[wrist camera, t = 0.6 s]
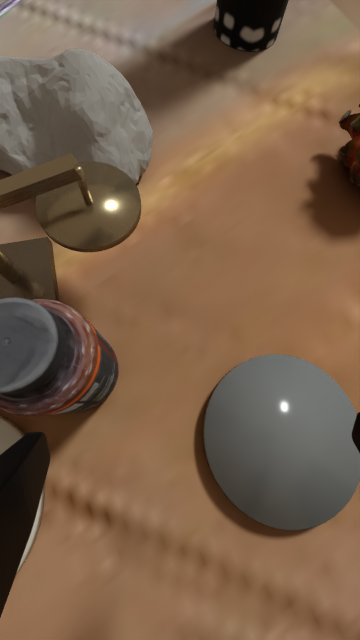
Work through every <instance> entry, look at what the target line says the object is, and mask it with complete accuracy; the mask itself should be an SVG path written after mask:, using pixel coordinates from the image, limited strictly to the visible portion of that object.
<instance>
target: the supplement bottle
mask: <svg viewBox="0 0 360 640" xmlns="http://www.w3.org/2000/svg"><path fill="white" fill-rule="evenodd" d="M117 378H118V361H117V358H116V355H115V353H114V351H113V349H112V348H111V346H110V345H109V344H108V343H107V342H106V340H105V339H104V338H103V337H102V336H101V335H100V334H99V332H98V331H97V330H96V329H95V328H94V327H93V326H92V324H91V323H90V322H89V321H88V320H87V319H86V318H85V317H84V316H83V315H82V314H81V313H80V312H78V311H77V310H75V309H74V308H72V307H71V306H69V305H66V304H64V303H62V302H58V301H54V300H47V299H36V300H29V299H24V298H16V297H14V298H4V299H0V409H1V410H3V411H5V412H8V413H11V414H15V415H22V416H37V415H50V414H61V413H72V412H81V411H85V410H89V409H91V408H94V407H95V406H98V405H99V404H100V403H102V402H103V401H104V400H105V399H106V398H107V397H108V396H109V395H110V393H111V392H112V390H113V389H114V386H115V385H116V381H117Z"/></svg>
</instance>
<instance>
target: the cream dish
mask: <svg viewBox="0 0 360 640" xmlns="http://www.w3.org/2000/svg"><path fill="white" fill-rule="evenodd" d="M24 435H25V434H24V433H23V432H22V431H21V430H20V429H19V428H18V427H17V426H16V425H15V424H13V423H12V422H11V421H9V420H7V419H6V418H4V417H2V416H0V454H2V453H3V452H4V451H5V450H7V449H8V448H9V447H10V446H12V445H13V444H14V443H15V442H17V441H18V440H19V439H20V438H22V437H23V436H24ZM43 507H44V487H43V491H42V495H41V499H40V503H39V506H38V510H37V514H36V518H35V522H34V525H33V528H32V531H31V534H30V537H29V540H28V542H27V545H26V548H25V551H24V554H23V556H22V559H21V562H20V565H19V567H18V570H17V573H18V572H19V570H20V569H21V567H22V565H23V564H24V562H25V560H26V559H27V557H28V555H29V553H30V551H31V549H32V546H33V544H34V542H35V539H36V536H37V533H38V530H39V527H40V523H41V519H42V514H43ZM17 573H16V574H17Z"/></svg>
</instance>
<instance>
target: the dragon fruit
mask: <svg viewBox="0 0 360 640" xmlns="http://www.w3.org/2000/svg"><path fill="white" fill-rule="evenodd" d="M359 107H360V104H359ZM350 113H351V110H349V111H347V112H346V113H345V114H344V115H343V117H342V118H341V120H340V121H339V123H340V127H341V128H342V129H345V130H347V132H348V133H349V134H350V136H351V138H352V140H351V141H349V142H348V143H347V144H346V145H345V146H343V147H342V148H341V149H340V151H339V156H338V159H339V162H342V163H343V164H345V165H346V167H349V168H351V169H350V180H351V182H352V183H353V184H356V185H358V186H359V187H360V113H358V114H353V115H350Z"/></svg>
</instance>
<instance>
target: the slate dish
mask: <svg viewBox="0 0 360 640" xmlns="http://www.w3.org/2000/svg"><path fill="white" fill-rule="evenodd" d="M356 416H357V414H356V412H355V409H354V407H353V405H352V403H351V402H350V400H349V398H348V397H347V395H346V394H345V392H344V391H343V390H342V388H341V387H340V386H339V385H338V384H337V383H336V381H335V380H334V379H333V378H332V377H330V376H329V375H328V374H327V373H326V372H325V371H323V370H322V369H320V368H319V367H317V366H316V365H314V364H312V363H310V362H308V361H305V360H303V359H300V358H297V357H293V356H289V355H280V354H273V355H264V356H259V357H256V358H252V359H250V360H248V361H245V362H243V363H241V364H239V365H238V366H236V367H235V368H233V369H232V370H231V371H229V372H228V373H227V374H226V375H225V376H224V377H223V378H222V379H221V380H220V382H219V383H218V384H217V386H216V387H215V389H214V390H213V392H212V394H211V396H210V398H209V400H208V404H207V407H206V410H205V415H204V420H203V444H204V450H205V455H206V458H207V461H208V465H209V467H210V469H211V472H212V474H213V476H214V478H215V479H216V481H217V483H218V485H219V486H220V488H221V489H222V490H223V491H224V493H225V494H226V495H227V497H228V498H229V499H230V500H231V501H232V502H233V503H234V504H235V505H236V506H237V507H238V508H239V509H240V510H241V511H242V512H244V513H245V514H246V515H248V516H249V517H251V518H252V519H254V520H256V521H258V522H260V523H262V524H265V525H267V526H270V527H273V528H278V529H283V530H303V529H308V528H312V527H315V526H318V525H320V524H322V523H325V522H326V521H328V520H330V519H331V518H333V517H334V516H335V515H336V514H338V513H339V512H340V511H341V510H342V509H343V508H344V507H345V505H346V504H347V503H348V502H349V500H350V499H351V497H352V495H353V494H354V492H355V490H356V488H357V485H358V483H359V480H360V453H359V451H358V449H357V448H356V446H355V444H354V442H353V440H352V430H353V426H354V423H355V419H356Z"/></svg>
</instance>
